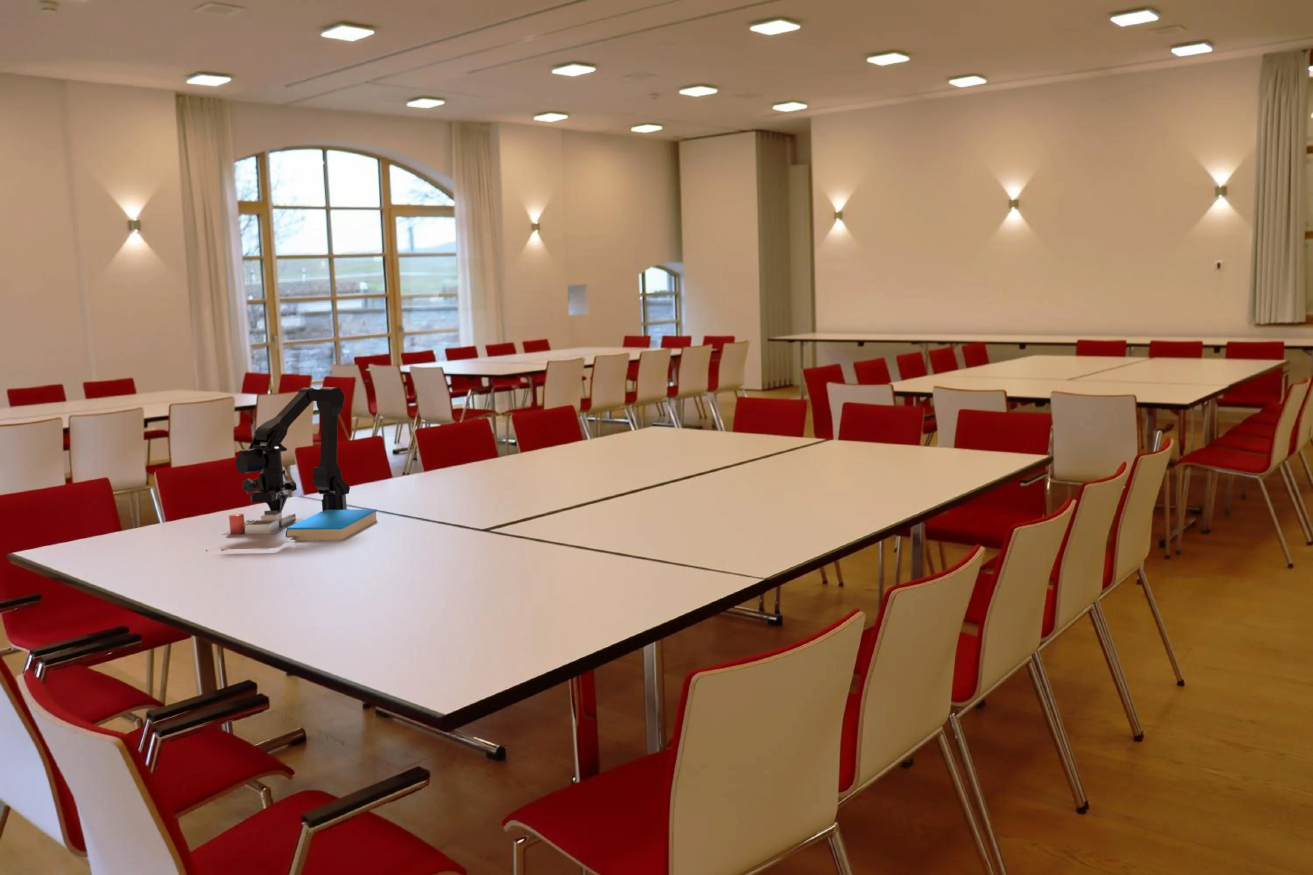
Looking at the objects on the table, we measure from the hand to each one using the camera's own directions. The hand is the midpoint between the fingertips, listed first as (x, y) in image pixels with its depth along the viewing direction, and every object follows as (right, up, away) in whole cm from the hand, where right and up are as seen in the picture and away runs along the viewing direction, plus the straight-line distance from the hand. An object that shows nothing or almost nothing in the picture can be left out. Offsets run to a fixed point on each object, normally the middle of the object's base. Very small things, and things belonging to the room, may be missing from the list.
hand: (276, 519), depth 321 cm
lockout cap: (-8, -3, -10) cm, 13 cm away
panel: (-3, -3, -3) cm, 5 cm away
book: (+19, -3, -6) cm, 20 cm away
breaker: (0, -1, -3) cm, 4 cm away
